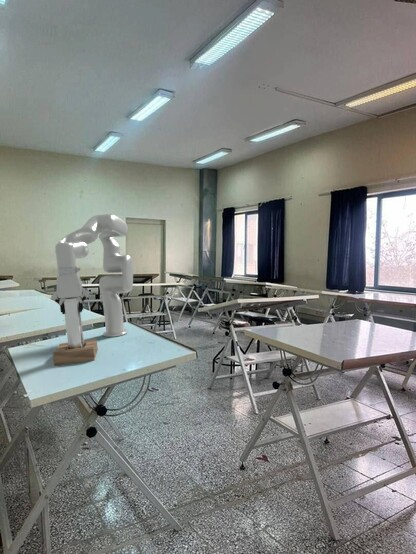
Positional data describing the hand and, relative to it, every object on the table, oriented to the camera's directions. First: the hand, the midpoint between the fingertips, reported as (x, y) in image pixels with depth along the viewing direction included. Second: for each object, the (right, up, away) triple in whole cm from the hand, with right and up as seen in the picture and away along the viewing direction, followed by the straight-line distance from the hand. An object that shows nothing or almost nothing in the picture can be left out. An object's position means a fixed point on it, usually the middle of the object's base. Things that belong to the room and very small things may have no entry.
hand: (72, 312), depth 162 cm
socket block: (+1, -20, +2) cm, 20 cm away
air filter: (+1, -19, +2) cm, 19 cm away
